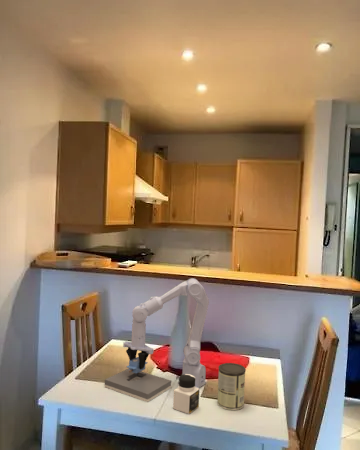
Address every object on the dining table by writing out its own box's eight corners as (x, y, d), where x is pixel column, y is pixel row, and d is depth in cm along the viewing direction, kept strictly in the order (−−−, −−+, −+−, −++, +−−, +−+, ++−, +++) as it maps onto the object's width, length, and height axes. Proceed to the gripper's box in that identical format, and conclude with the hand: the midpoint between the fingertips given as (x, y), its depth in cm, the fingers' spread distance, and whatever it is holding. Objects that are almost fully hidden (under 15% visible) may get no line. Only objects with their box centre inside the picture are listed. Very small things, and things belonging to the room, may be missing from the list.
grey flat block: (171, 387, 170) (171, 380, 170) (147, 402, 156) (148, 394, 156) (129, 374, 181) (129, 367, 181) (104, 386, 168) (104, 379, 168)
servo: (147, 367, 175) (147, 357, 175) (133, 375, 167) (133, 363, 167) (140, 365, 178) (140, 355, 177) (125, 372, 169) (126, 361, 169)
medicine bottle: (189, 414, 148) (190, 381, 148) (172, 408, 152) (174, 376, 151) (199, 407, 154) (200, 375, 154) (182, 401, 158) (184, 370, 157)
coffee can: (218, 396, 164) (220, 361, 163) (244, 400, 161) (246, 364, 161) (215, 408, 154) (216, 371, 153) (242, 412, 151) (244, 374, 151)
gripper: (119, 333, 173) (117, 365, 173) (146, 341, 165) (145, 374, 165) (129, 330, 179) (128, 361, 179) (156, 336, 171) (155, 369, 171)
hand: (137, 367), depth 173 cm, fingers closed on servo, 4 cm apart
